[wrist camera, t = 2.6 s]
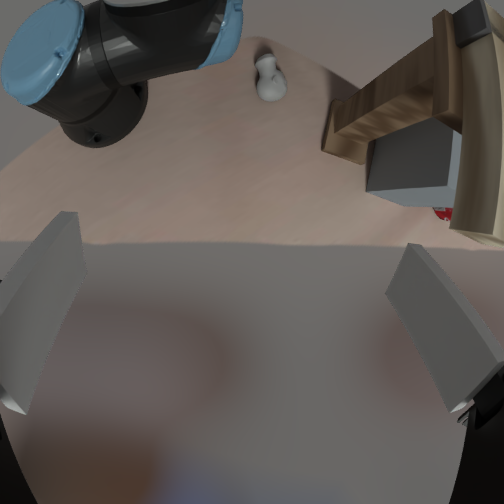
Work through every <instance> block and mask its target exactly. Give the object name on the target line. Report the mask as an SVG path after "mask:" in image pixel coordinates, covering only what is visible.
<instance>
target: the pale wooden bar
mask: <svg viewBox="0 0 504 504" xmlns="http://www.w3.org/2000/svg"><path fill="white" fill-rule="evenodd" d="M452 16H453V24H454V32H455V42H456V46H458V47H459V48H460V49H461V55H462V71H463V125H462V142H461V154H460V164H459V172H458V180H457V187H456V194H455V200H454V206H453V211H452V217H451V222H450V227H449V229H451V230H453V231H455V232H457V233H460V234H462V235H464V236H466V237H468V238H470V239H473V240H475V241H477V242H479V243H481V244H485V245H490V246H495V247H500V248H504V18H503V17H501V16H500V15H499V14H498V13H497V12H496V11H495V10H494V9H493V8H492V7H490V5H488V4H487V3H486V2H485V1H484V0H473V1H472V2H470V3H469V4H467V5H466V6H464V7H463V8H461V9H460V10H458V11H457V12H455V13H454V14H452Z"/></svg>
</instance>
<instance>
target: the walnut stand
mask: <svg viewBox="0 0 504 504" xmlns="http://www.w3.org/2000/svg"><path fill="white" fill-rule="evenodd" d="M432 21H433V37H431V38H430V39H429V40H427V41H426V42H424V43H423V44H421V45H420V46H419V47H417V48H416V49H414V50H413V51H412V52H410V53H409V54H407V55H406V56H405V57H403V58H402V59H401V60H399V61H398V62H397V63H395V64H394V65H392V66H391V67H390V68H388V69H387V70H386V71H384V72H383V73H382V74H380V75H379V76H378V77H376V78H375V79H374V80H373V81H371V82H370V83H369V84H367V85H366V86H365V87H363V88H362V89H361V90H360V91H358V92H357V93H356V94H354V95H353V96H352V97H351V98H349V99H348V100H347V101H346V102H343V101H340V100H337V99H334V100H333V101H332V104H331V109H330V114H329V118H328V123H327V127H326V132H325V137H324V141H323V145H322V150H321V151H323V152H326V153H329V154H332V155H335V156H338V157H340V158H343V159H346V160H349V161H351V162H354V163H357V164H359V165H362V164H364V163H365V158H366V153H367V148H368V142H369V141H372V140H374V139H377V138H379V137H382V136H384V135H387V134H389V133H392V132H394V131H397V130H399V129H402V128H405V127H407V126H410V125H412V124H415V123H418V122H420V121H423V120H426V119H428V118H431V117H434V118H436V119H437V120H439V121H440V122H442V123H444V124H445V125H447V126H448V127H450V128H452V129H453V130H455V131H456V132H458V133H459V134H461V135H462V125H463V71H462V55H461V49H460V48H459V47H458V46H456V42H455V32H454V24H453V16H452V14H451V13H449V12H448V11H446V10H445V9H444V10H442V11H441V12H440V13H438V14H437V15H436V16H434V17H433V18H432Z"/></svg>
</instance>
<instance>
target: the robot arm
mask: <svg viewBox="0 0 504 504" xmlns="http://www.w3.org/2000/svg"><path fill="white" fill-rule="evenodd" d="M242 4H243V0H99V1H96V2H93V3H90V4H88V5H85V6H82V5H81V3H79V2H78V1H75V0H54V1H52V2H49V3H48V4H46V5H44V6H42V7H41V8H40V9H38V10H37V11H35V12H34V13H33V14H32V15H31V16H30V17H29V18H28V19H27V20H26V21H25V22H24V23H23V24H22V25H21V26H20V28H19V29H18V30H17V32H16V33H15V35H14V36H13V38H12V39H11V41H10V43H9V45H8V47H7V49H6V51H5V54H4V57H3V60H2V65H1V82H2V85H3V88H4V89H5V91H6V92H7V93H8V94H9V95H11V96H12V97H14V98H16V99H17V101H18V102H20V103H21V104H22V105H26V106H28V107H31V108H33V109H35V110H37V111H39V112H41V113H43V114H46V115H48V116H50V117H52V118H54V119H56V120H58V121H59V123H60V125H61V127H62V129H63V131H64V132H65V134H66V135H67V136H68V137H69V138H70V139H71V140H72V141H74V142H76V143H78V144H80V145H83V146H85V147H90V148H101V147H106V146H109V145H112V144H114V143H116V142H118V141H119V140H121V139H123V138H124V137H125V136H126V135H128V134H129V133H130V132H131V131H132V130H133V129H134V128H135V126H136V125H137V124H138V122H139V121H140V119H141V117H142V115H143V113H144V111H145V108H146V105H147V99H148V90H147V85H146V82H145V80H149V79H153V78H157V77H161V76H165V75H169V74H174V73H179V72H183V71H188V70H197V69H201V68H203V67H204V66H208V65H213V64H217V63H222V62H224V61H226V60H228V59H229V58H231V57H232V55H233V54H234V53H235V51H236V49H237V47H238V44H239V41H240V37H241V32H242V24H243V11H242V9H241V8H242ZM86 275H87V268H86V263H85V258H84V252H83V246H82V240H81V233H80V226H79V218H78V212H64V211H61V212H60V213H59V214H58V215H57V216H56V217H55V218H54V219H53V220H52V221H51V222H50V223H49V225H48V226H47V227H46V228H45V229H44V230H43V231H42V232H41V233H40V235H39V236H38V237H37V238H36V239H35V240H34V241H33V243H32V244H31V245H30V246H29V247H28V249H27V250H26V251H25V252H24V253H23V255H22V256H21V257H20V258H19V260H18V261H17V262H16V264H15V265H14V266H13V267H12V268H11V270H10V271H9V272H8V274H7V275H6V276H5V278H4V279H3V280H0V400H1V401H2V402H3V403H4V405H6V407H7V408H9V409H12V410H14V411H17V412H20V413H22V414H25V415H27V412H28V409H29V406H30V403H31V400H32V397H33V394H34V391H35V388H36V386H37V383H38V380H39V377H40V374H41V372H42V369H43V367H44V364H45V362H46V359H47V357H48V355H49V352H50V350H51V347H52V345H53V343H54V340H55V338H56V336H57V333H58V331H59V329H60V327H61V325H62V323H63V320H64V318H65V316H66V314H67V312H68V310H69V308H70V306H71V304H72V302H73V299H74V298H75V296H76V294H77V292H78V290H79V288H80V286H81V284H82V282H83V280H84V279H85V277H86ZM385 294H386V295H387V297H388V299H389V301H390V302H391V304H392V306H393V307H394V309H395V311H396V312H397V314H398V316H399V318H400V319H401V321H402V323H403V325H404V326H405V328H406V330H407V332H408V333H409V335H410V337H411V339H412V341H413V342H414V344H415V346H416V348H417V350H418V352H419V354H420V355H421V357H422V359H423V361H424V363H425V365H426V367H427V369H428V371H429V373H430V375H431V377H432V378H433V381H434V382H435V385H436V387H437V389H438V390H439V393H440V395H441V397H442V399H443V401H444V403H445V405H446V408H447V410H448V412H449V413H451V412H454V411H456V410H459V409H462V408H463V407H464V406H465V405H466V404H467V403H468V402H469V401H470V400H471V399H472V398H473V400H474V402H475V403H474V404H473V406H471V407H470V408H469V409H468V410H467V411H466V412H465V413H463V414H462V415H461V416H460V417H459V418H458V421H457V422H458V423H460V422H461V421H462V420H463V419H464V418H465V417H468V418H467V419H466V420H465V421H464V422H463V424H462V425H464V426H467V430H466V436H465V442H464V447H463V452H462V457H461V461H460V466H459V470H458V474H457V478H456V481H455V485H454V489H453V492H452V496H451V499H450V502H449V504H504V350H503V348H502V347H501V345H500V344H499V342H498V341H497V339H496V338H495V336H494V335H493V334H492V332H491V331H490V329H489V328H488V326H487V325H486V324H485V322H484V321H483V320H482V318H481V317H480V315H479V314H478V313H477V312H476V310H475V309H474V307H473V306H472V305H471V304H470V302H469V301H468V300H467V298H466V297H465V296H464V295H463V293H462V292H461V291H460V290H459V288H458V287H457V286H456V285H455V283H454V282H453V281H452V280H451V279H450V277H449V276H448V275H447V274H446V273H445V272H444V270H443V269H442V268H441V267H440V266H439V264H438V263H437V262H436V261H435V260H434V259H433V258H432V257H431V255H429V253H428V252H427V251H426V250H425V249H424V248H423V247H422V245H419V244H411V243H408V245H407V247H406V250H405V252H404V254H403V256H402V259H401V261H400V263H399V265H398V267H397V270H396V272H395V274H394V276H393V278H392V280H391V282H390V285H389V286H388V289H387V291H386V293H385ZM0 504H38V503H37V501H36V499H35V497H34V496H33V494H32V492H31V490H30V488H29V486H28V484H27V482H26V480H25V478H24V475H23V473H22V471H21V469H20V466H19V464H18V462H17V459H16V457H15V454H14V452H13V450H12V447H11V444H10V441H9V439H8V436H7V433H6V430H5V428H4V424H3V421H2V418H1V415H0Z"/></svg>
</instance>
